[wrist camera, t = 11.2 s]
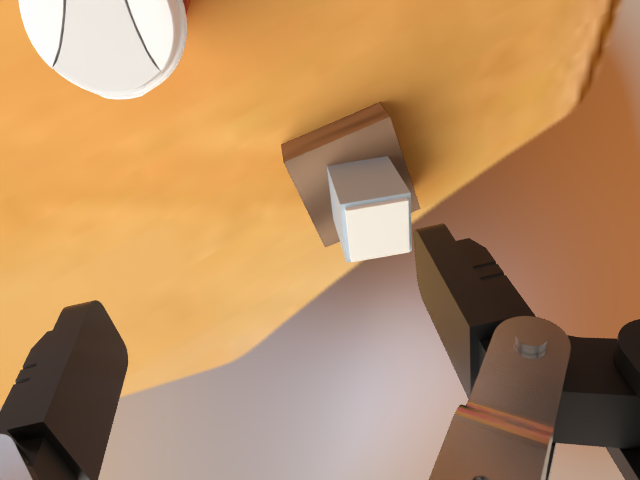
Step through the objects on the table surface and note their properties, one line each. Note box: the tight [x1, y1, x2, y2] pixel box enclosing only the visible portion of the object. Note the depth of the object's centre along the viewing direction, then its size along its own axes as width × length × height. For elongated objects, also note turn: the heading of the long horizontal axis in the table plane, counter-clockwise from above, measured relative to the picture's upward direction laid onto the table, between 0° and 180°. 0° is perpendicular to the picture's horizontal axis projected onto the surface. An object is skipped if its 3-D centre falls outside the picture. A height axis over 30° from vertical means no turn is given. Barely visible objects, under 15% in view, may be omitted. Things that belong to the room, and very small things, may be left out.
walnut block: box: [281, 102, 420, 247], centre depth 43 cm, size 9×9×4 cm
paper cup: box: [19, 0, 189, 99], centre depth 29 cm, size 8×8×14 cm
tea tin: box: [327, 156, 412, 262], centre depth 38 cm, size 5×5×7 cm
